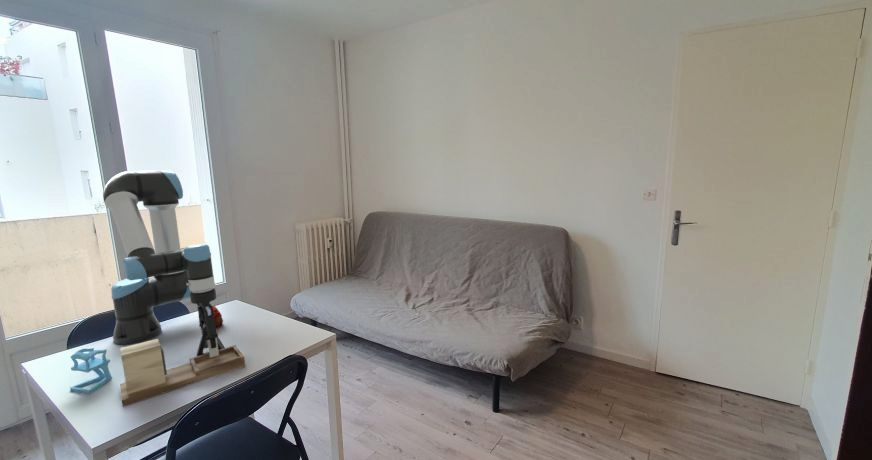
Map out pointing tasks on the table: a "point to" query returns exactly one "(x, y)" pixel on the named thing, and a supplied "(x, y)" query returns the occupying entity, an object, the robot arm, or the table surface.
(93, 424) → the table surface
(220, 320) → the red clay folk toy
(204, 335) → the dark grey a-frame stand
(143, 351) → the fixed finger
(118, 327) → the robot arm
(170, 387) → the wooden desk organizer
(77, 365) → the chair
